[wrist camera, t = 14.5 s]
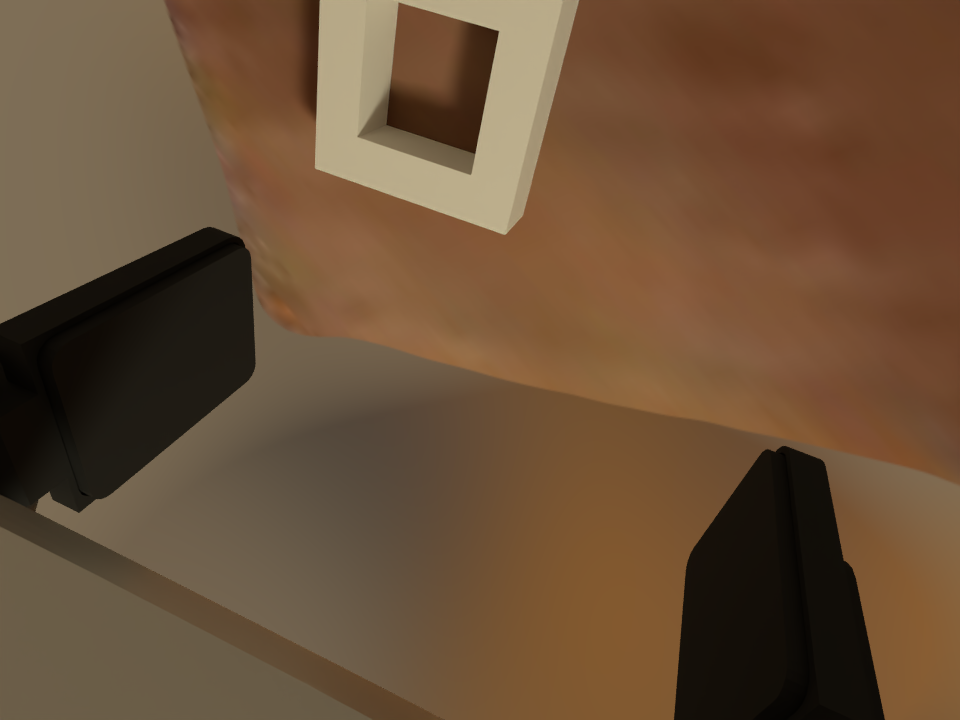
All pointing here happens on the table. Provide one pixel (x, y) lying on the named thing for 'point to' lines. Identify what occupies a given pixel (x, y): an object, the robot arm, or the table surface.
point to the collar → (421, 161)
